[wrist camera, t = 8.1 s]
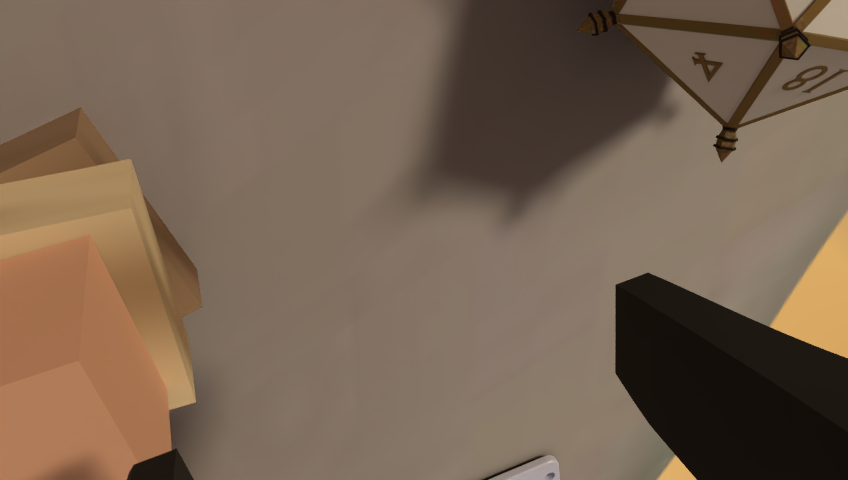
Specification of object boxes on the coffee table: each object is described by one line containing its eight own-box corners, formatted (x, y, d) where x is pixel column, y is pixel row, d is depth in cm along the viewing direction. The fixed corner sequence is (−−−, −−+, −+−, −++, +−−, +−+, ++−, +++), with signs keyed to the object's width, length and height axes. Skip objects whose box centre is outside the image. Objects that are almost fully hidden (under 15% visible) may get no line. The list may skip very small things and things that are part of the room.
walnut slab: (195, 258, 21) (202, 307, 19) (21, 345, 20) (9, 404, 18) (81, 99, 17) (75, 137, 15) (-129, 198, 17) (-164, 250, 15)
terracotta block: (167, 389, 16) (177, 528, 13) (-35, 459, 16) (-77, 627, 12) (89, 235, 14) (78, 360, 11) (-158, 307, 13) (-251, 468, 10)
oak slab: (188, 340, 19) (195, 402, 17) (-34, 399, 18) (-55, 473, 16) (130, 158, 16) (131, 208, 14) (-143, 211, 15) (-186, 274, 13)
